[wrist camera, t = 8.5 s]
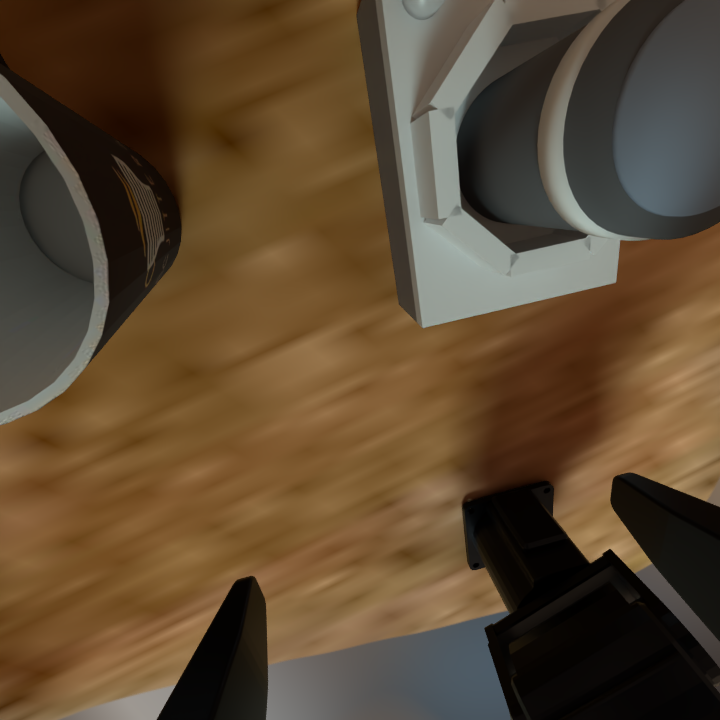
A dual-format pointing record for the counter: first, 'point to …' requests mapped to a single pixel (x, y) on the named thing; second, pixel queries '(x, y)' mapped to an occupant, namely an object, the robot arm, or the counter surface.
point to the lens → (605, 128)
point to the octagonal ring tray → (440, 162)
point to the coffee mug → (69, 242)
